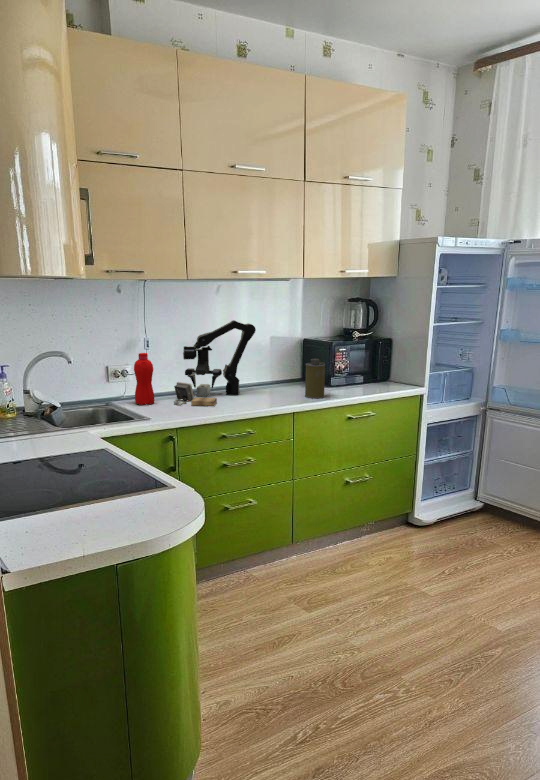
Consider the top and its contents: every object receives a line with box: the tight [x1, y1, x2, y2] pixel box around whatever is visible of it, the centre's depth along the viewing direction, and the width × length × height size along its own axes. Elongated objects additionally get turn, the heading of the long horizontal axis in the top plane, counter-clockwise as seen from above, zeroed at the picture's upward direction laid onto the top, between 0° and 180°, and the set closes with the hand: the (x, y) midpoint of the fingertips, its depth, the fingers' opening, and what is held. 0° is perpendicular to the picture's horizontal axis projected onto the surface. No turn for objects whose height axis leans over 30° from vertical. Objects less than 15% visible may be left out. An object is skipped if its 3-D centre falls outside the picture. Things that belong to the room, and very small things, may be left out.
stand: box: [190, 397, 218, 407], centre depth 270 cm, size 11×8×2 cm
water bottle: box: [133, 352, 155, 406], centre depth 271 cm, size 9×11×25 cm
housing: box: [196, 383, 211, 398], centre depth 292 cm, size 6×9×6 cm, turn 176°
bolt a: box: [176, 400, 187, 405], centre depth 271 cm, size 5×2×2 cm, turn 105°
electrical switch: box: [173, 381, 195, 402], centre depth 279 cm, size 9×5×9 cm, turn 57°
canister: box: [304, 358, 326, 399], centre depth 289 cm, size 11×10×20 cm
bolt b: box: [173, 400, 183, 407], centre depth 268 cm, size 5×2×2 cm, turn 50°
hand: (203, 388), depth 291 cm, fingers open, 9 cm apart
